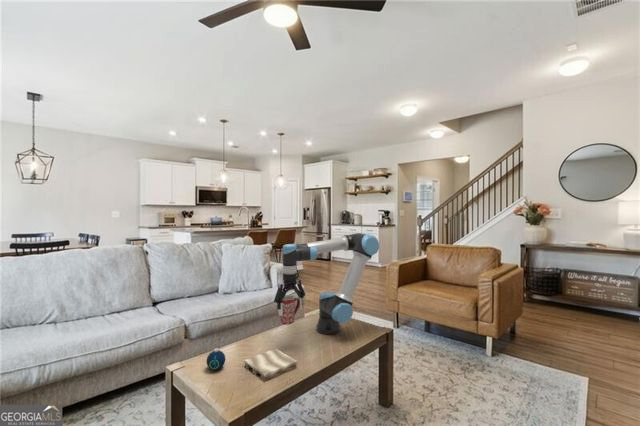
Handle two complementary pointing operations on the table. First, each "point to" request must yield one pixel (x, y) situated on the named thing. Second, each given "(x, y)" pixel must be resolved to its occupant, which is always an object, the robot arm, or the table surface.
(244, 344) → the table surface
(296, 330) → the table surface
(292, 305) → the mug
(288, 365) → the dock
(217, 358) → the christmas ornament
